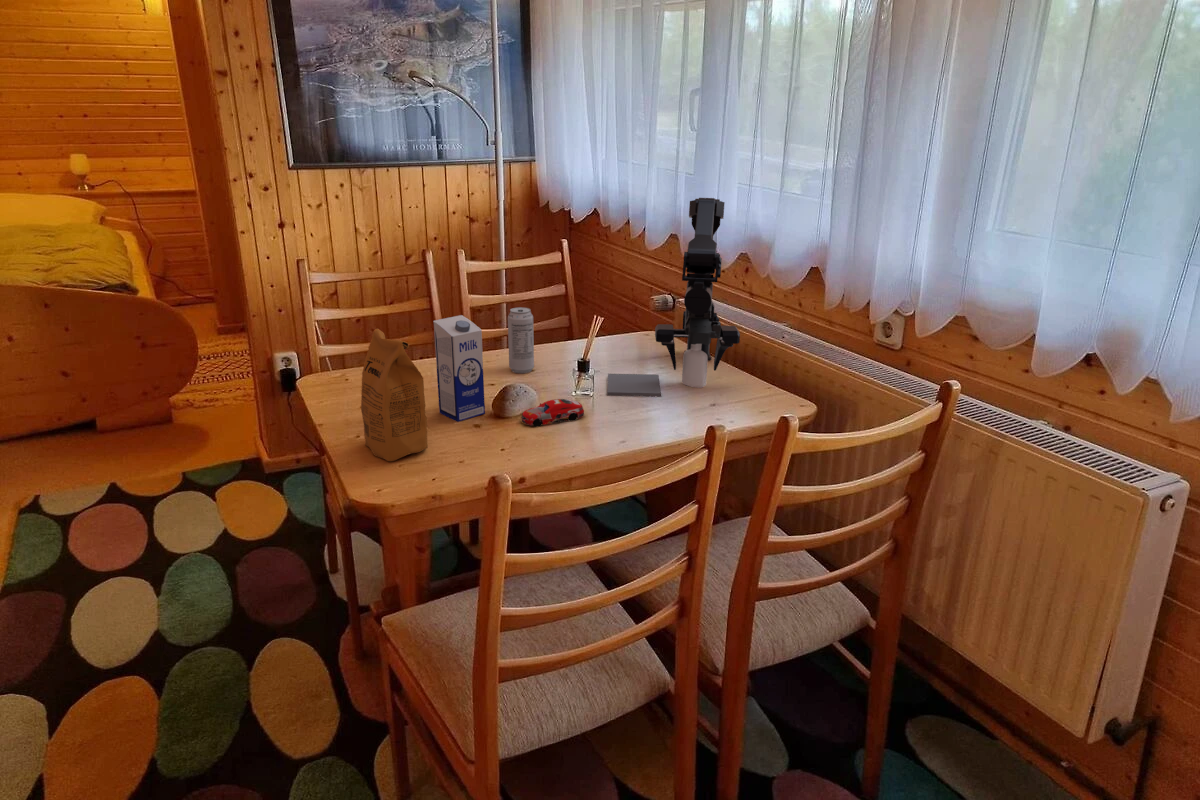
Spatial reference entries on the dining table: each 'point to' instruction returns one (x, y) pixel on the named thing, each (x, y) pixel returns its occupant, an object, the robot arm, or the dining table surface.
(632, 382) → the charcoal pad
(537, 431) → the dining table surface
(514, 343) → the energy drink can
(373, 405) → the coffee package
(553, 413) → the race car
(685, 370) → the white bottle
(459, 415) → the milk carton
